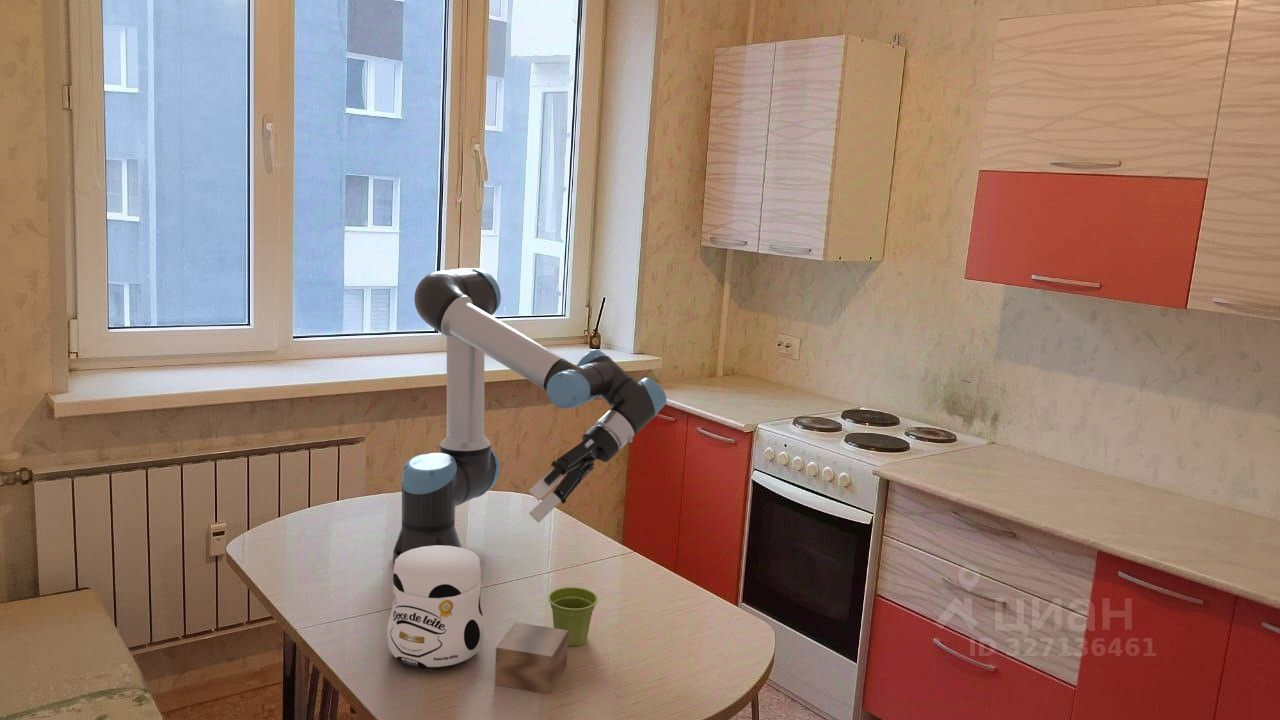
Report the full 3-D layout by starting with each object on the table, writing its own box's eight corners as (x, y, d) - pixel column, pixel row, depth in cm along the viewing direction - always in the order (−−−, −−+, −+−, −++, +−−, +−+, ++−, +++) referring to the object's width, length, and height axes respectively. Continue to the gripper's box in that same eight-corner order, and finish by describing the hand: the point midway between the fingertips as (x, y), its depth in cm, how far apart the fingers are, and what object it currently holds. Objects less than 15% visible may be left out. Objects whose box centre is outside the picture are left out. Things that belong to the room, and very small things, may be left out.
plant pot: (605, 637, 187) (607, 596, 186) (576, 656, 179) (578, 613, 178) (566, 623, 192) (568, 582, 190) (536, 641, 184) (538, 598, 182)
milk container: (388, 682, 167) (389, 584, 163) (385, 635, 183) (386, 545, 180) (489, 673, 172) (492, 578, 168) (477, 628, 188) (480, 540, 185)
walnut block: (494, 684, 168) (496, 647, 167) (514, 657, 178) (515, 622, 176) (550, 694, 166) (551, 656, 165) (566, 666, 176) (568, 630, 174)
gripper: (625, 424, 189) (547, 499, 180) (616, 470, 211) (546, 538, 203) (597, 400, 191) (519, 472, 182) (591, 447, 213) (521, 514, 204)
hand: (533, 507), depth 192 cm, fingers open, 13 cm apart
